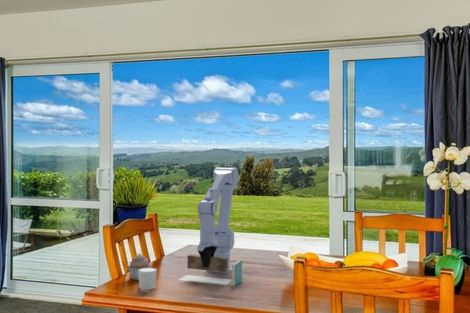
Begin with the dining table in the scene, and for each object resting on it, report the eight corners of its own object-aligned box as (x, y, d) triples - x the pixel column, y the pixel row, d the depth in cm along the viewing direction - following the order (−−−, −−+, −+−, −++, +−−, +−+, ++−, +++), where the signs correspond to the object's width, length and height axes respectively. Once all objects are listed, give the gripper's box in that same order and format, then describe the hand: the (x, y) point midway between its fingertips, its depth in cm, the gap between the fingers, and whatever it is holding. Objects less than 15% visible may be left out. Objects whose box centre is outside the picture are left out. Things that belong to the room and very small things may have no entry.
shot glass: (160, 286, 175) (160, 268, 175) (150, 292, 169) (151, 272, 169) (143, 285, 178) (143, 266, 178) (134, 290, 171) (134, 271, 171)
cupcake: (139, 274, 194) (140, 249, 193) (156, 277, 188) (156, 252, 188) (122, 279, 186) (122, 253, 186) (138, 283, 180) (138, 257, 180)
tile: (231, 285, 176) (231, 264, 176) (238, 280, 183) (238, 260, 183) (235, 286, 176) (235, 264, 176) (241, 281, 182) (242, 260, 182)
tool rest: (177, 280, 183) (177, 279, 183) (186, 275, 191) (186, 274, 191) (225, 286, 177) (225, 285, 177) (233, 280, 184) (233, 279, 184)
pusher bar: (187, 268, 185) (187, 255, 185) (190, 266, 187) (190, 254, 187) (225, 272, 180) (225, 259, 180) (227, 270, 182) (227, 257, 182)
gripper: (209, 234, 175) (209, 271, 175) (223, 228, 189) (223, 262, 189) (192, 233, 178) (192, 269, 178) (207, 227, 191) (207, 261, 191)
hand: (207, 265), depth 184 cm, fingers closed on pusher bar, 2 cm apart
